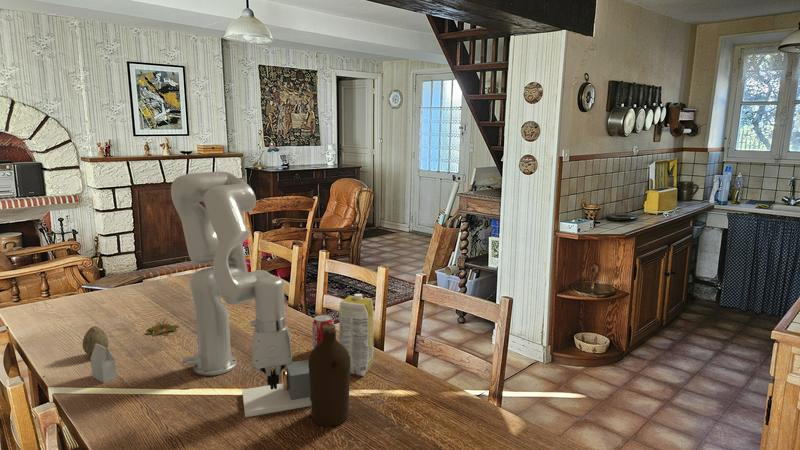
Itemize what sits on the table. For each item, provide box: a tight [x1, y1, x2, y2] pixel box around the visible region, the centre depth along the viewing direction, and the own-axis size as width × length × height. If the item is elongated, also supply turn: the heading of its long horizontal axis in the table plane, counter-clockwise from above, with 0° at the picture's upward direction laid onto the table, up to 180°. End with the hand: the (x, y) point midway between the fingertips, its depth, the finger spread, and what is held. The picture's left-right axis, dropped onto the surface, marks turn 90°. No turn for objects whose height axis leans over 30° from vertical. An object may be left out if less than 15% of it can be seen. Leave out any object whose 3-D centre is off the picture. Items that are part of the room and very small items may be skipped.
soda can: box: [312, 313, 335, 350], centre depth 171 cm, size 7×7×12 cm
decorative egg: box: [82, 326, 109, 357], centre depth 167 cm, size 7×7×10 cm
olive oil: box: [308, 324, 351, 427], centre depth 132 cm, size 11×11×25 cm
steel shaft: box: [281, 369, 289, 391], centre depth 144 cm, size 14×6×6 cm, turn 110°
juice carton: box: [338, 293, 374, 377], centre depth 158 cm, size 9×8×24 cm
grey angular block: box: [90, 343, 118, 384], centre depth 153 cm, size 4×7×10 cm, turn 55°
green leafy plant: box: [144, 318, 179, 337], centre depth 188 cm, size 12×12×5 cm
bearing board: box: [242, 359, 312, 418], centre depth 143 cm, size 27×12×9 cm, turn 110°
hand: (273, 386), depth 141 cm, fingers closed
